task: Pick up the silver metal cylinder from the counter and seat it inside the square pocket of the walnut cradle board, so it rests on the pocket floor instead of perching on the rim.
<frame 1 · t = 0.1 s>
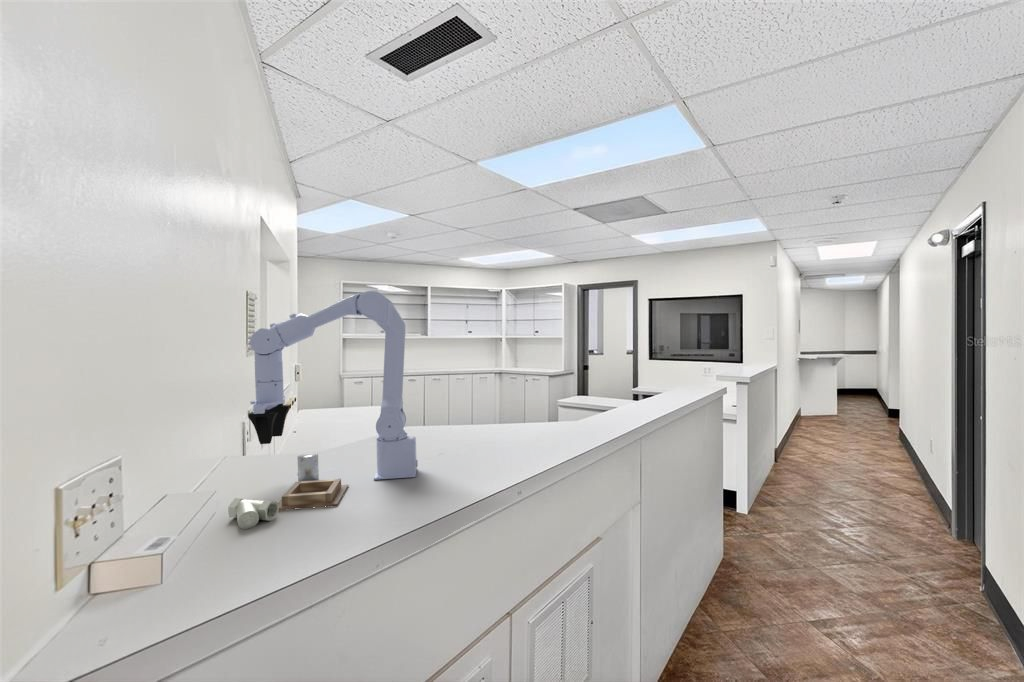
hand: (271, 439, 109), 10 cm above the counter, fingers open, 7 cm apart
silver metal cylinder: (308, 481, 109), on the counter
pipe fitting: (247, 524, 86), on the counter
cradle board: (313, 500, 98), on the counter
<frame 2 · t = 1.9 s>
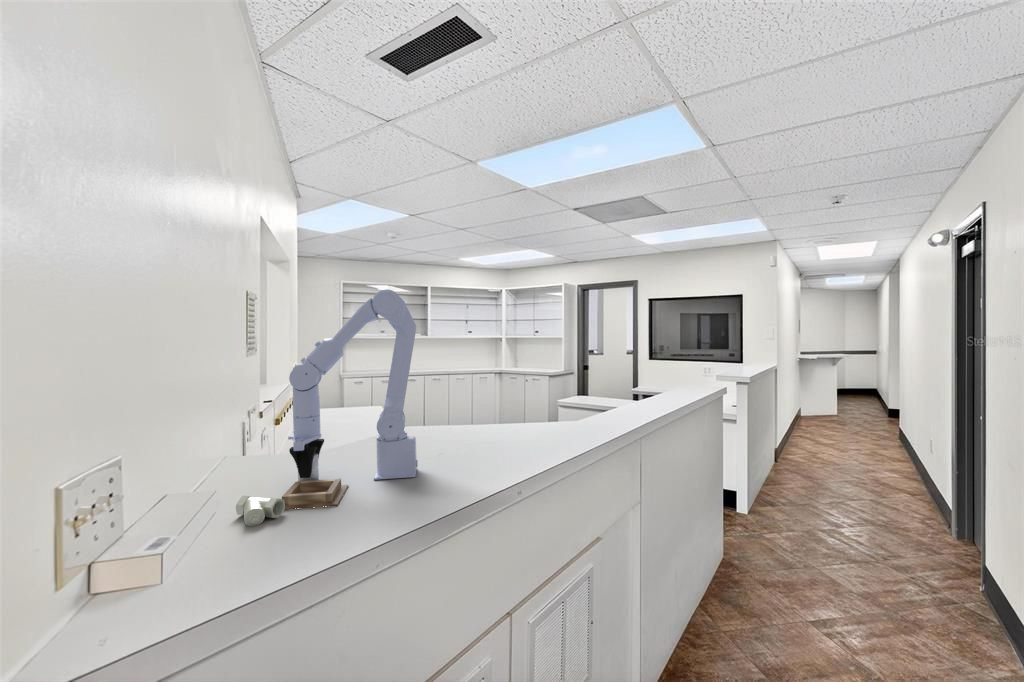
hand: (308, 474, 109), 2 cm above the counter, fingers closed on silver metal cylinder, 4 cm apart
silver metal cylinder: (308, 481, 109), on the counter, touching gripper
pipe fitting: (254, 521, 87), on the counter
everything else where it was.
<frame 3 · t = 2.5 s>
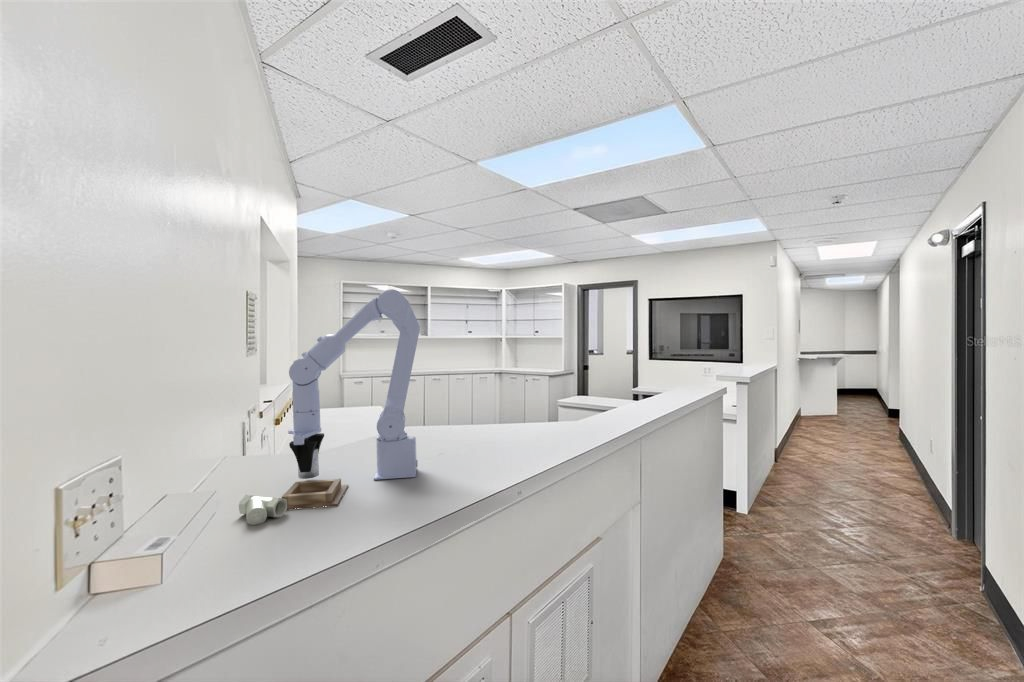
hand: (308, 468, 109), 3 cm above the counter, fingers closed on silver metal cylinder, 4 cm apart
silver metal cylinder: (308, 475, 109), point 1 cm above the counter, touching gripper
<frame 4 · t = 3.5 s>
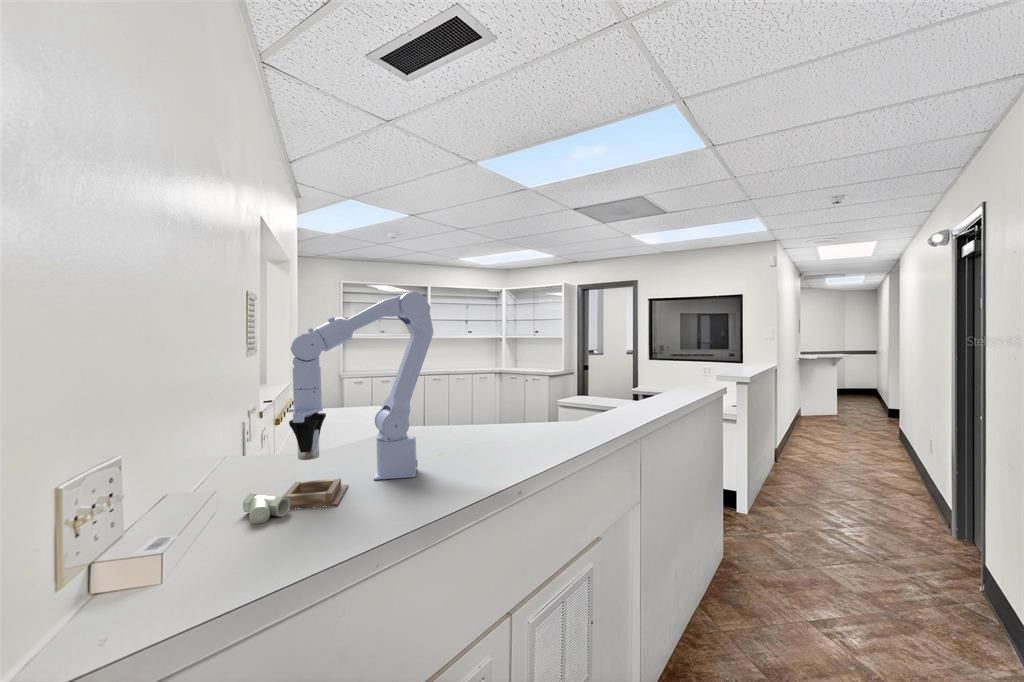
hand: (309, 449, 105), 9 cm above the counter, fingers closed on silver metal cylinder, 4 cm apart
silver metal cylinder: (308, 457, 105), point 7 cm above the counter, touching gripper
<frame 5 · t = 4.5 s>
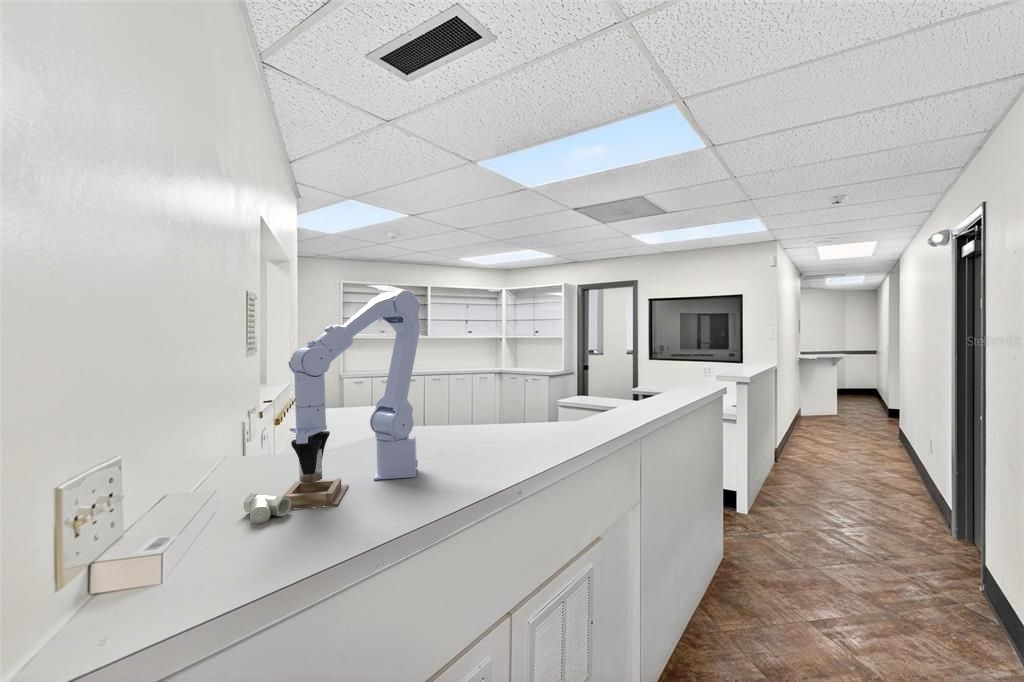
hand: (312, 470, 98), 6 cm above the counter, fingers closed on silver metal cylinder, 4 cm apart
silver metal cylinder: (311, 479, 98), point 4 cm above the counter, touching gripper
when the fingers open (4 cm above the counter, at t = 5.3 s): silver metal cylinder drops 2 cm, resting on cradle board.
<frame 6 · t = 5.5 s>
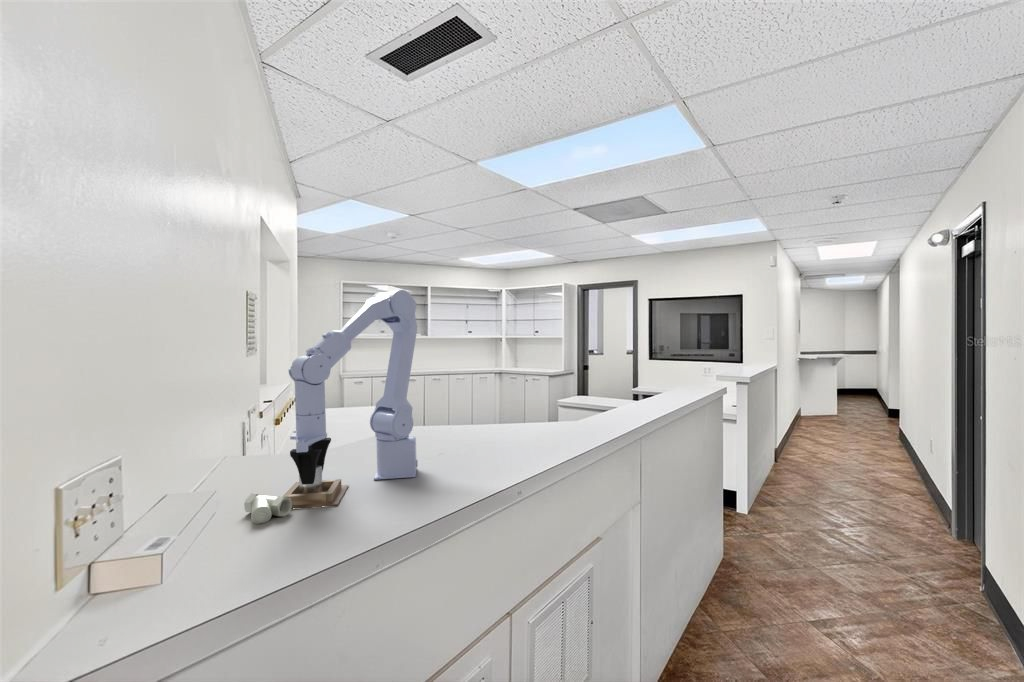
hand: (312, 478, 98), 4 cm above the counter, fingers open, 6 cm apart
silver metal cylinder: (311, 496, 98), resting on cradle board
cradle board: (313, 500, 98), on the counter, touching silver metal cylinder
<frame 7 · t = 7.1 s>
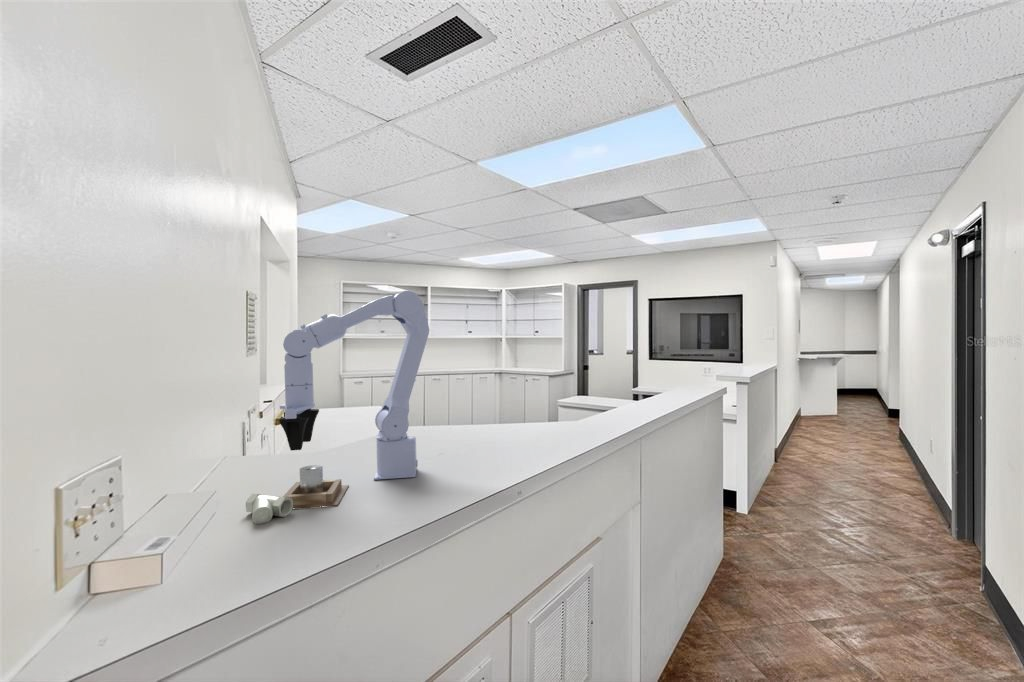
hand: (300, 445, 104), 9 cm above the counter, fingers open, 7 cm apart
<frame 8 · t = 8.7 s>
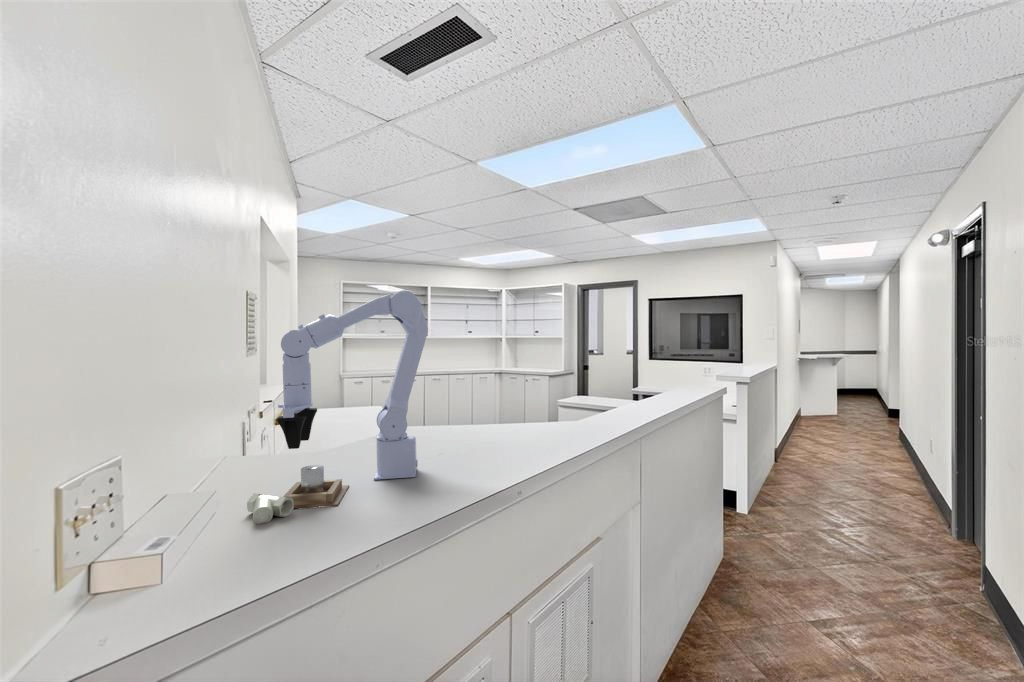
hand: (299, 444, 106), 9 cm above the counter, fingers open, 7 cm apart
at the end: silver metal cylinder 0.2 cm off-centre on the cradle board, point 1.0 cm above the cradle board's base; silver metal cylinder tilted 1°; cradle board moved 0.7 cm from its start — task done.
